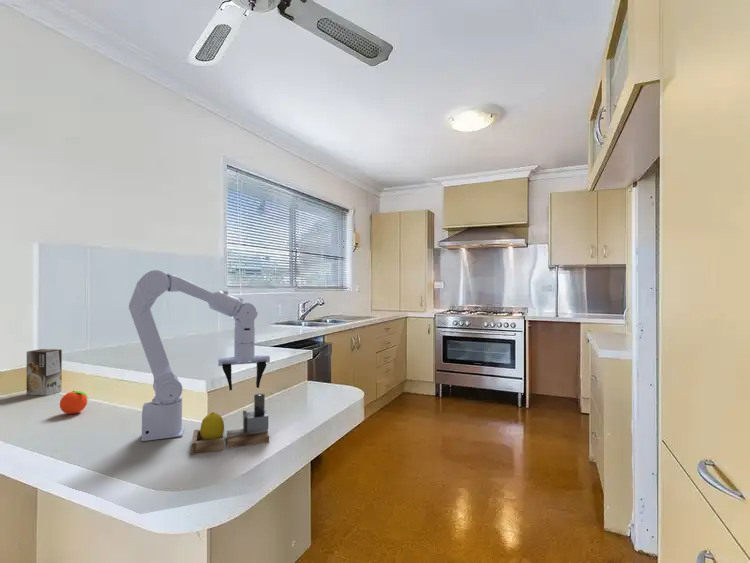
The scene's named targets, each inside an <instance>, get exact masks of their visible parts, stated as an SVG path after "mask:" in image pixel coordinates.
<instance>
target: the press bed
mask: <svg viewBox="0 0 750 563" xmlns="http://www.w3.org/2000/svg"><path fill="white" fill-rule="evenodd" d="M226 443H227V444H226V445H227V449H229V448H237V447H243V446H244V447H245V446H251V445H259V444H265V443H270V434H269V428H268V429H267V430H259V431H251V432H246V433H244V430H243V428H240V429H239V428H238V429H230V430H226Z"/></svg>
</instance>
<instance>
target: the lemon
mask: <svg viewBox="0 0 750 563" xmlns="http://www.w3.org/2000/svg"><path fill="white" fill-rule="evenodd" d="M200 424H201V425H200V432H201V436H202V438H203V440H202V441H204V440H212V439H219V438H221V437H222V435H223V436H224V432H225V423H224V419H223V417H222V416H221V415H220V414H218V413H216V412H212V411H211V412H210V413H209V414H207V415H206V416H204V418H203V419H202V422H201V423H200ZM222 438H223V437H222Z"/></svg>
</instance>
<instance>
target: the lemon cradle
mask: <svg viewBox="0 0 750 563" xmlns="http://www.w3.org/2000/svg"><path fill="white" fill-rule="evenodd" d="M200 429H201V428H200ZM200 429H194V430H193V434H192V439H191V443H190V444H191V450H190V451H191V453H190V454H191V455H197V454H203V453H210V452H217V451H223V450H224V434H223V435H222V437H221V438H219V439H212V440H203V438H202V436H201V432H200Z"/></svg>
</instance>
